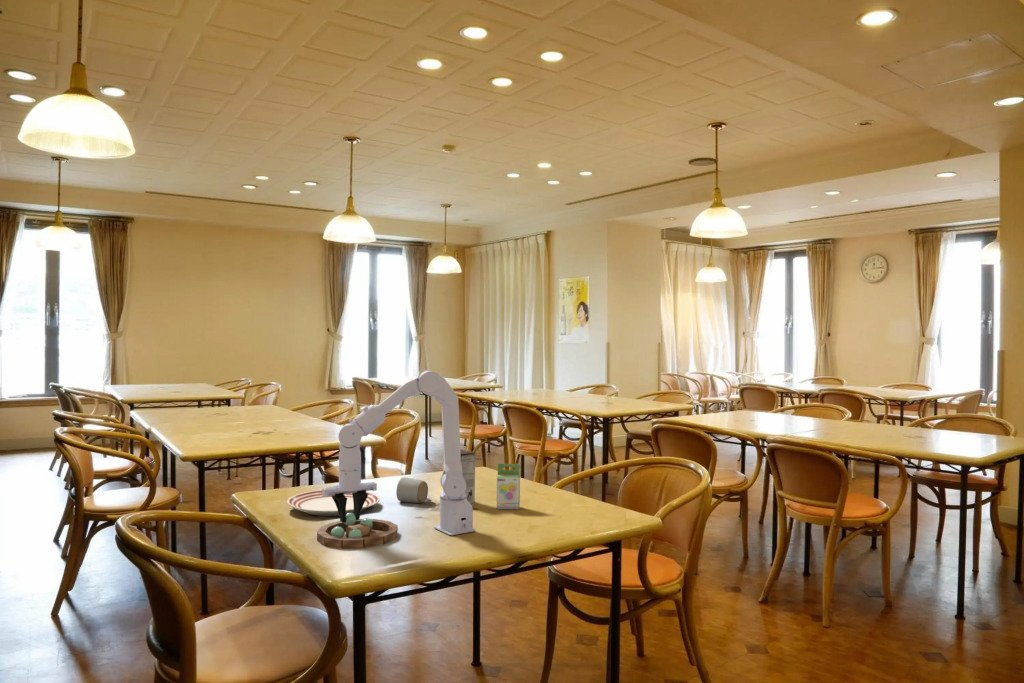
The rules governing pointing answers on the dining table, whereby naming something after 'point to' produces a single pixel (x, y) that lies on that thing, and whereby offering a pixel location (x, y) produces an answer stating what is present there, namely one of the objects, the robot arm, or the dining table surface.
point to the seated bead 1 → (337, 532)
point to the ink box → (508, 487)
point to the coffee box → (468, 473)
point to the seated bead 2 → (355, 534)
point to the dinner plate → (326, 503)
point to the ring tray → (373, 540)
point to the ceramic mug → (412, 490)
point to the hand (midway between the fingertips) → (349, 520)
